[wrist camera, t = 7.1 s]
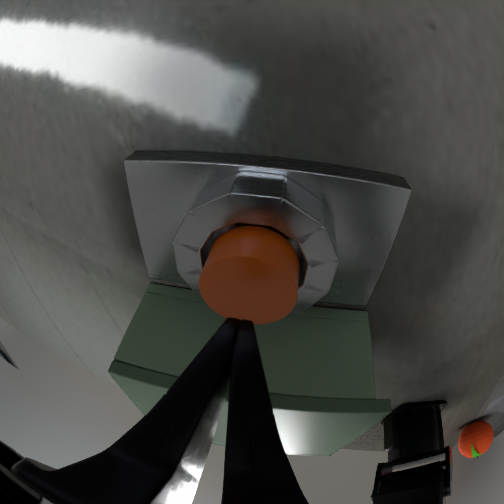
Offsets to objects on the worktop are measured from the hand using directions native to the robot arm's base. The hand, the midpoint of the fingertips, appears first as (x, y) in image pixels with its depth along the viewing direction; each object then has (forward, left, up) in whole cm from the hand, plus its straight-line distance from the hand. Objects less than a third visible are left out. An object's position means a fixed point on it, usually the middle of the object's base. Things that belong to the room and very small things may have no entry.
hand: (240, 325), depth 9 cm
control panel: (0, 0, -6) cm, 6 cm away
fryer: (0, +11, -6) cm, 12 cm away
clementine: (-39, +33, -6) cm, 52 cm away
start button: (0, 0, -3) cm, 3 cm away
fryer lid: (0, +11, 0) cm, 11 cm away
